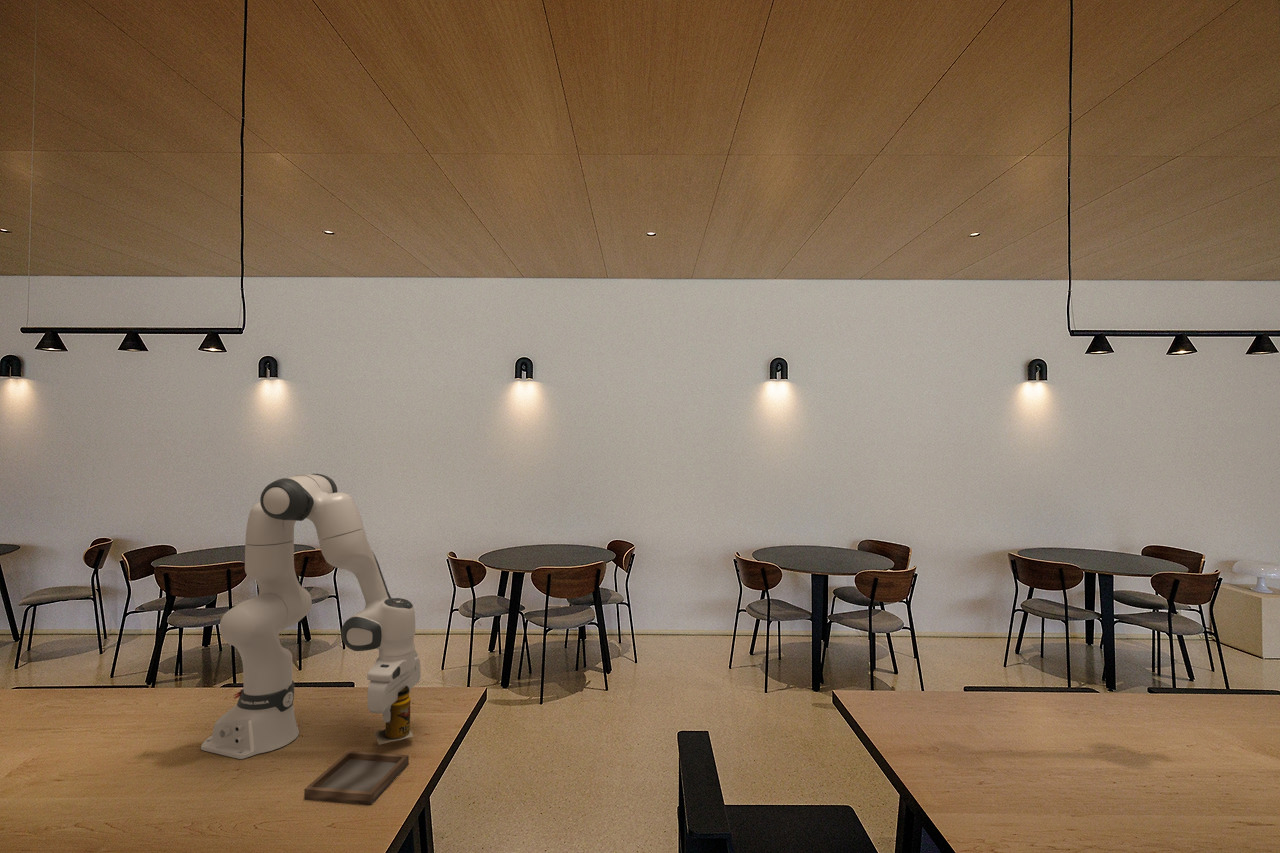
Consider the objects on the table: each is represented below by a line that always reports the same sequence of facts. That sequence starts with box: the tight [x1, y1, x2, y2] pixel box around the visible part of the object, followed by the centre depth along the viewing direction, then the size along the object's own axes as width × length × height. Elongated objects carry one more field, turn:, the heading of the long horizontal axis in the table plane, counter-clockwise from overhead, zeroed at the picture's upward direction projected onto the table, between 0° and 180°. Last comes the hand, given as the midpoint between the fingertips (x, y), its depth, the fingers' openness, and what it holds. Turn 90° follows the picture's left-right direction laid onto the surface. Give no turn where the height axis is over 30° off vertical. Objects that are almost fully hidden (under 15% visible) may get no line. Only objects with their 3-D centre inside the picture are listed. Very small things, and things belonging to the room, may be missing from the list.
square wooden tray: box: [303, 750, 410, 806], centre depth 139 cm, size 16×16×2 cm
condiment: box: [374, 686, 415, 746], centre depth 156 cm, size 7×8×12 cm
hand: (395, 714), depth 156 cm, fingers closed on condiment, 6 cm apart
